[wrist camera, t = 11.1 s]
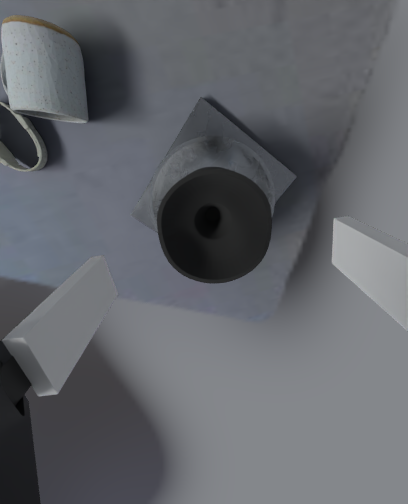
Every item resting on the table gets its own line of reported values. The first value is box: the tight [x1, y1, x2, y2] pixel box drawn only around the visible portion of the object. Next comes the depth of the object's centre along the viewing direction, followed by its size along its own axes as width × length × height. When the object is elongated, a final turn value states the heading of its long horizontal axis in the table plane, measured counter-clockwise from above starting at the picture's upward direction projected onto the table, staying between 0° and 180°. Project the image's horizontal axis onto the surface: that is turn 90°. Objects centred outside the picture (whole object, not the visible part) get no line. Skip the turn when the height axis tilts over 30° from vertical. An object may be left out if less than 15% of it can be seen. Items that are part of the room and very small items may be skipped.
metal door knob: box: [130, 97, 297, 233], centre depth 31 cm, size 18×16×7 cm
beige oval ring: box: [0, 102, 47, 172], centre depth 30 cm, size 9×6×5 cm
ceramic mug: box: [0, 15, 89, 123], centre depth 26 cm, size 11×8×8 cm
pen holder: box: [157, 167, 272, 283], centre depth 23 cm, size 9×9×10 cm
